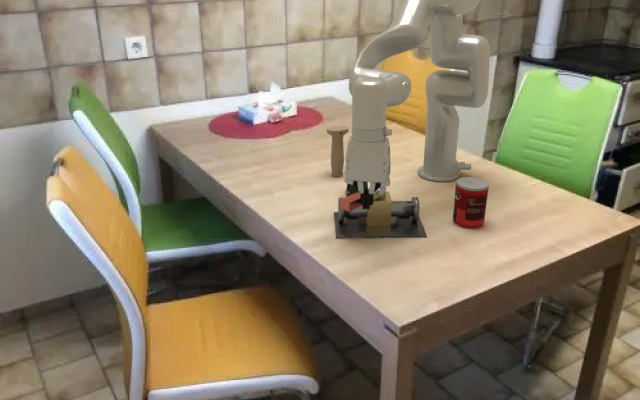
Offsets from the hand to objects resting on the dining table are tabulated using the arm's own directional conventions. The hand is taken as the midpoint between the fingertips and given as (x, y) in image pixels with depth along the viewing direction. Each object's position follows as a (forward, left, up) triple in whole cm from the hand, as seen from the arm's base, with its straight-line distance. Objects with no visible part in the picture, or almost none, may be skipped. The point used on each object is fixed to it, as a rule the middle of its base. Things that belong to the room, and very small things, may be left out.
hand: (366, 206), depth 140 cm
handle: (+5, -40, -8) cm, 41 cm away
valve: (-4, -6, -8) cm, 11 cm away
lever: (0, -4, -1) cm, 5 cm away
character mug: (0, -25, -8) cm, 26 cm away
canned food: (-27, -7, -8) cm, 29 cm away
